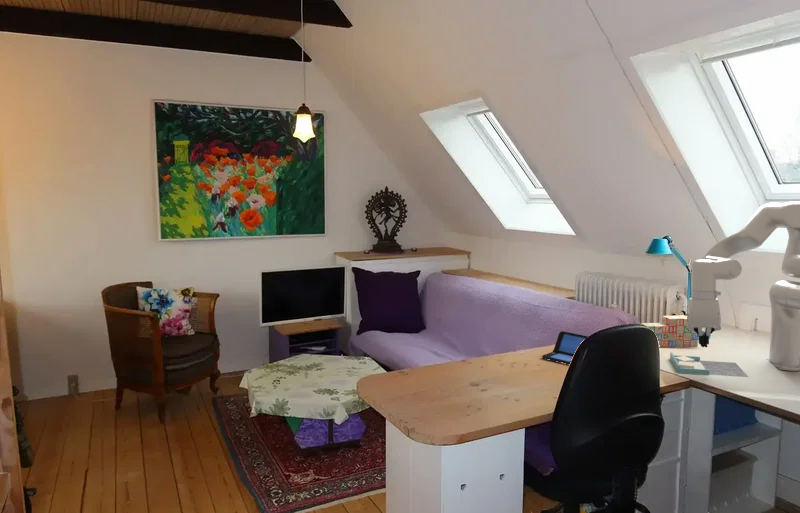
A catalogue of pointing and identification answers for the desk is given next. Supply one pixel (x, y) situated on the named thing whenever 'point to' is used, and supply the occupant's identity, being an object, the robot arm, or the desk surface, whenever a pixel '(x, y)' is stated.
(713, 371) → the plate
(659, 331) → the stack of blocks
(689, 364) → the off-white rectangular block
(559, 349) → the handheld game console
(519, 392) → the desk surface
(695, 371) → the box
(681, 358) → the tile
